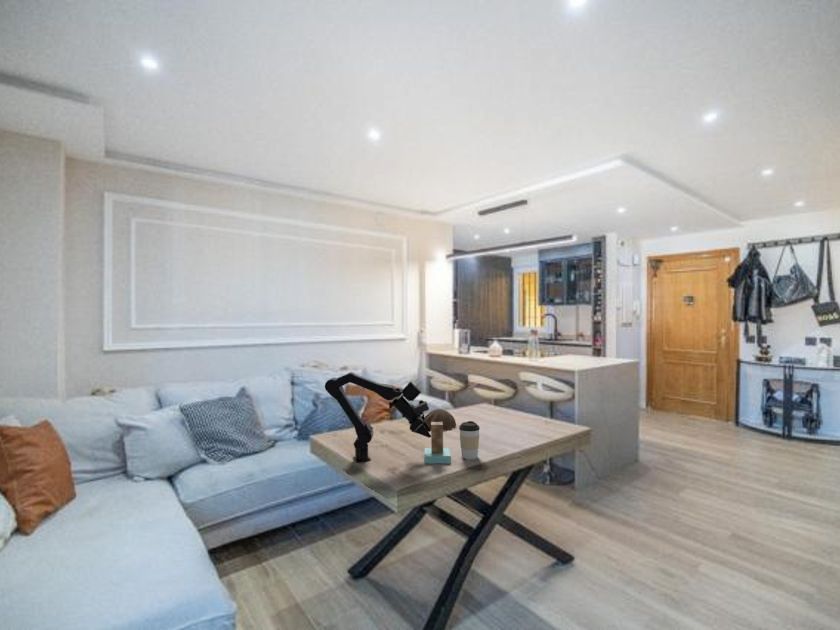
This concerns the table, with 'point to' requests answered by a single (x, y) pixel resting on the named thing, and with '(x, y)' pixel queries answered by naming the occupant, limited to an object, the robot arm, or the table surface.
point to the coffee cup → (469, 439)
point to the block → (437, 437)
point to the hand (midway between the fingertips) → (430, 433)
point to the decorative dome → (440, 418)
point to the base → (437, 456)
